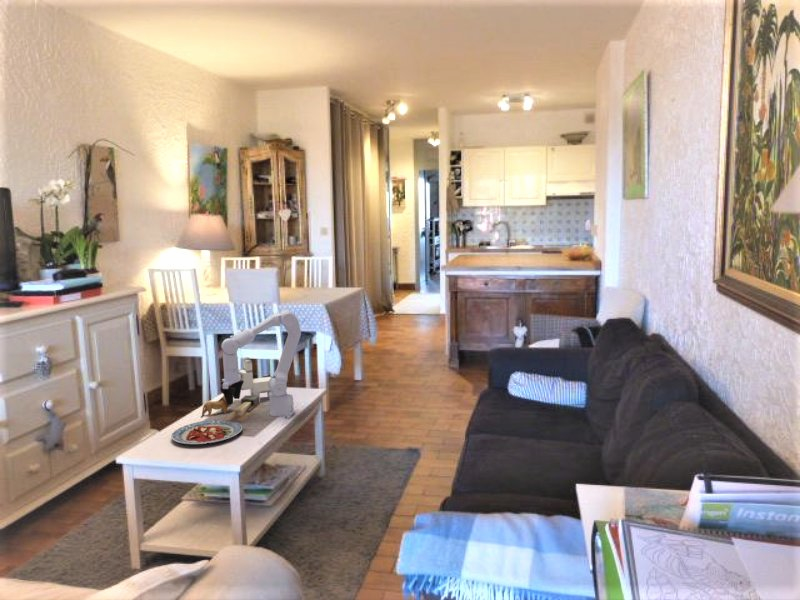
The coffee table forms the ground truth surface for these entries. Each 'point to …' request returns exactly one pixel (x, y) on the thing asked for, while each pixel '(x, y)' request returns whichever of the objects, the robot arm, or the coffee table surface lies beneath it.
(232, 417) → the cradle
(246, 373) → the toy llama
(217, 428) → the ceramic plate
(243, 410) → the slat
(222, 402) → the lion figurine
